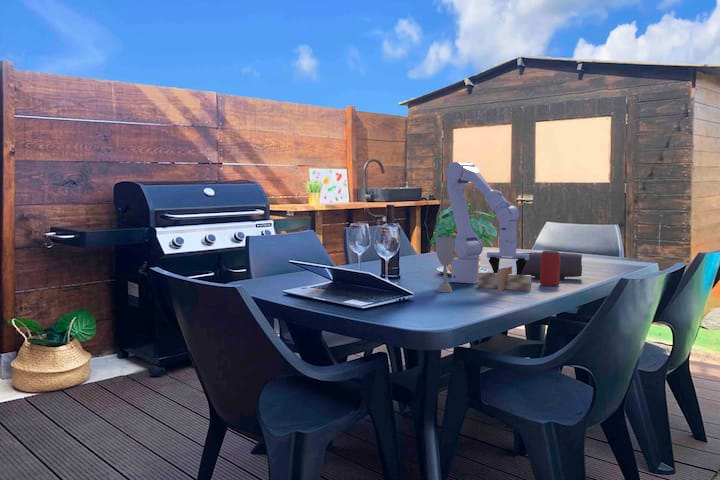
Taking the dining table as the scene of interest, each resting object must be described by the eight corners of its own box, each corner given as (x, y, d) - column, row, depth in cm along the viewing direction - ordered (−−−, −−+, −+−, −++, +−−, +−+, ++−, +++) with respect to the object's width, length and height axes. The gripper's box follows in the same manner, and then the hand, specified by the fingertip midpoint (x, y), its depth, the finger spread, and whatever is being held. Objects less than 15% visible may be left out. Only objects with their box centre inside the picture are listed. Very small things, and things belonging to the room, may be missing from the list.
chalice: (431, 291, 206) (431, 238, 204) (438, 288, 212) (438, 236, 210) (452, 293, 202) (452, 238, 201) (458, 290, 208) (458, 237, 207)
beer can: (554, 287, 212) (555, 252, 211) (536, 285, 216) (537, 251, 215) (562, 285, 217) (563, 251, 216) (544, 283, 221) (545, 250, 220)
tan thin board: (497, 290, 207) (497, 270, 206) (508, 285, 217) (508, 265, 216) (501, 290, 206) (501, 270, 205) (511, 285, 216) (512, 266, 216)
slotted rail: (478, 286, 215) (478, 272, 214) (480, 286, 216) (480, 272, 216) (529, 290, 205) (529, 276, 205) (531, 290, 207) (531, 275, 207)
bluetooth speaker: (517, 279, 231) (518, 253, 231) (519, 275, 240) (519, 250, 239) (581, 281, 225) (582, 254, 224) (580, 277, 234) (581, 251, 233)
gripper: (483, 240, 213) (483, 279, 214) (525, 242, 205) (524, 282, 207) (490, 239, 219) (490, 276, 220) (531, 240, 211) (530, 279, 213)
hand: (507, 279), depth 214 cm, fingers open, 7 cm apart
